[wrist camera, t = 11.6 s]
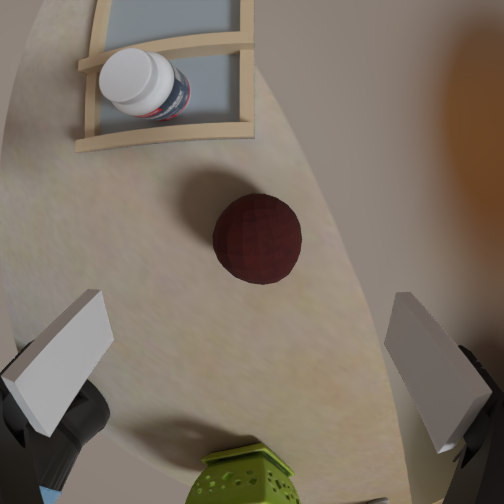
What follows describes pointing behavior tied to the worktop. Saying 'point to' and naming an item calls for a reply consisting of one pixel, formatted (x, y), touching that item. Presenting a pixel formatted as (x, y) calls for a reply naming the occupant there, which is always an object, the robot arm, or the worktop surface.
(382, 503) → the travel mug
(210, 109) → the open tray
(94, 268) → the worktop surface
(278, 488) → the flower pot
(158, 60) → the pill bottle
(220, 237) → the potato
